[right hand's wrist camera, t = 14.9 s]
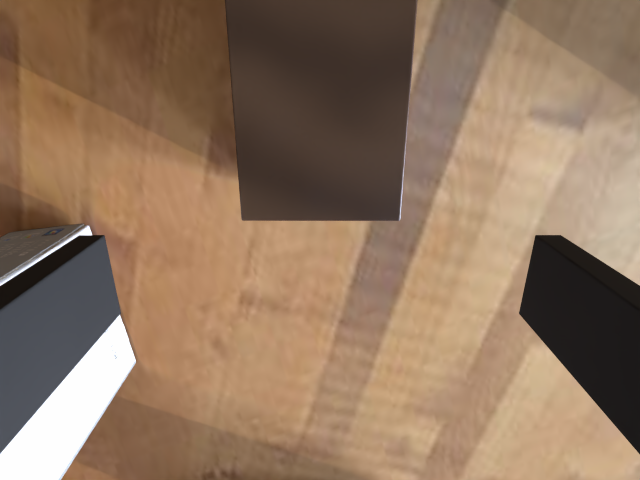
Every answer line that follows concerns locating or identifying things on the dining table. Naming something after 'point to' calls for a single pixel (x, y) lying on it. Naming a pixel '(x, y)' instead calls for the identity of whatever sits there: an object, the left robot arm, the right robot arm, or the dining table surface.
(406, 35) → the cabinet
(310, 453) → the dining table surface
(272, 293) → the dining table surface
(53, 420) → the hard drive box
